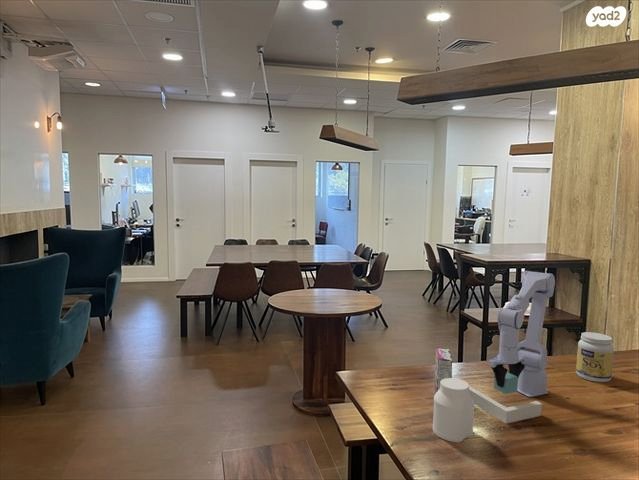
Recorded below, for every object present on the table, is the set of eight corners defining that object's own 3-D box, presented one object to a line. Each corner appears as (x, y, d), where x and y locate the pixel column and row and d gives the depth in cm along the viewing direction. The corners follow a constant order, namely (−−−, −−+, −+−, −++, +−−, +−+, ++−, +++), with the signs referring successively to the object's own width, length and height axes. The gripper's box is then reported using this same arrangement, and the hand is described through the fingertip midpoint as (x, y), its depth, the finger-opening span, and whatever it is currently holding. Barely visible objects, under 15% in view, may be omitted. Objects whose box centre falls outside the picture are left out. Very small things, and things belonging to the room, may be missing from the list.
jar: (454, 445, 122) (456, 394, 121) (427, 431, 130) (429, 382, 129) (477, 432, 129) (480, 384, 128) (450, 419, 137) (452, 373, 136)
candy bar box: (433, 391, 157) (435, 347, 156) (448, 393, 156) (449, 348, 155) (435, 405, 146) (437, 358, 145) (451, 407, 145) (453, 359, 144)
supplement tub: (575, 378, 171) (578, 337, 170) (576, 368, 181) (578, 329, 180) (612, 386, 165) (615, 342, 163) (611, 375, 175) (614, 334, 174)
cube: (505, 385, 147) (506, 371, 147) (517, 391, 143) (517, 376, 142) (494, 388, 145) (494, 373, 145) (505, 394, 141) (506, 379, 140)
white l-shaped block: (495, 390, 159) (495, 379, 159) (541, 415, 141) (541, 403, 140) (462, 396, 153) (462, 385, 153) (505, 423, 135) (506, 411, 135)
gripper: (515, 339, 149) (513, 377, 150) (482, 343, 143) (480, 383, 144) (532, 345, 142) (530, 385, 144) (499, 350, 137) (496, 392, 138)
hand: (506, 385), depth 144 cm, fingers closed on cube, 5 cm apart
